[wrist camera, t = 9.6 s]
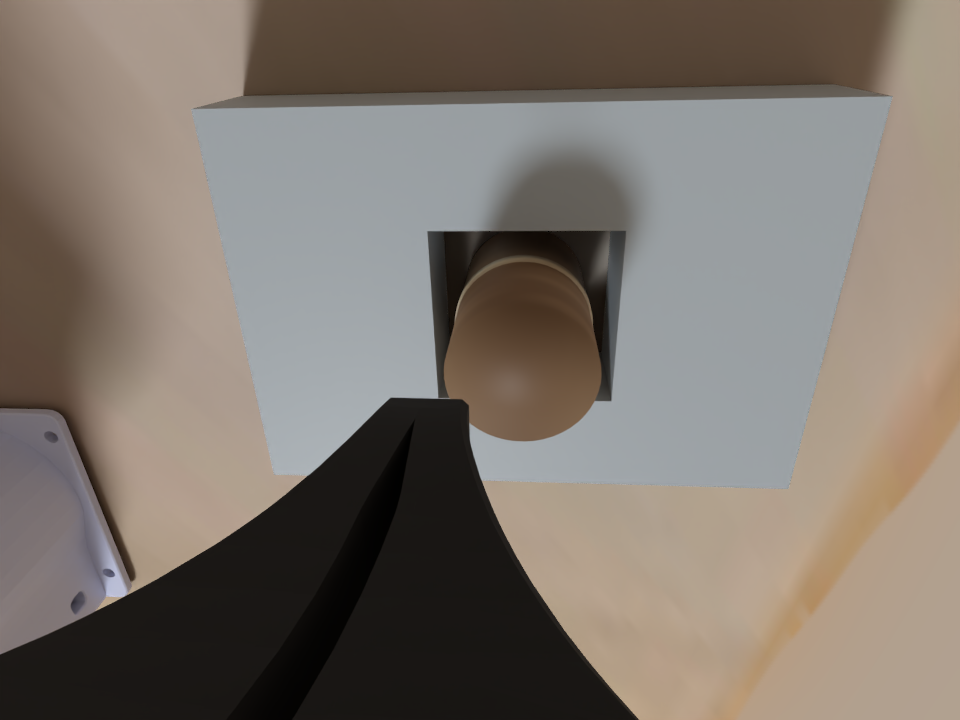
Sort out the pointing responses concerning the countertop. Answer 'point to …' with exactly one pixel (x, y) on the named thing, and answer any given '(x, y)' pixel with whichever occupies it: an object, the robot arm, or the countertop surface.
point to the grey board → (549, 207)
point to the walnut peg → (524, 339)
